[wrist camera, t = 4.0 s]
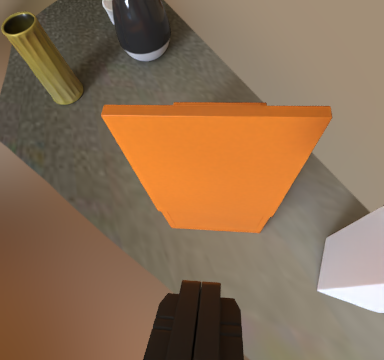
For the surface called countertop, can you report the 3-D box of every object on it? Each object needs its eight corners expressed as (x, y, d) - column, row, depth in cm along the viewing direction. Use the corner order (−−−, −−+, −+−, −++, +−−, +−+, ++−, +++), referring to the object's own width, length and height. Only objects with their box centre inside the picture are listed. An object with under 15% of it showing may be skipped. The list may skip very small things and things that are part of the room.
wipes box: (181, 137, 45) (173, 102, 37) (257, 138, 43) (266, 102, 35) (171, 227, 38) (159, 209, 30) (259, 233, 37) (271, 214, 29)
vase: (63, 78, 53) (13, 7, 40) (89, 84, 52) (46, 12, 39) (47, 101, 51) (-11, 34, 38) (74, 108, 49) (23, 40, 37)
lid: (103, 104, 15) (100, 115, 15) (330, 105, 14) (332, 117, 14) (159, 204, 30) (158, 211, 30) (272, 209, 29) (272, 216, 28)
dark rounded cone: (147, 27, 57) (125, -59, 43) (184, 46, 54) (172, -41, 40) (114, 55, 54) (79, -28, 41) (150, 77, 51) (125, -5, 37)
